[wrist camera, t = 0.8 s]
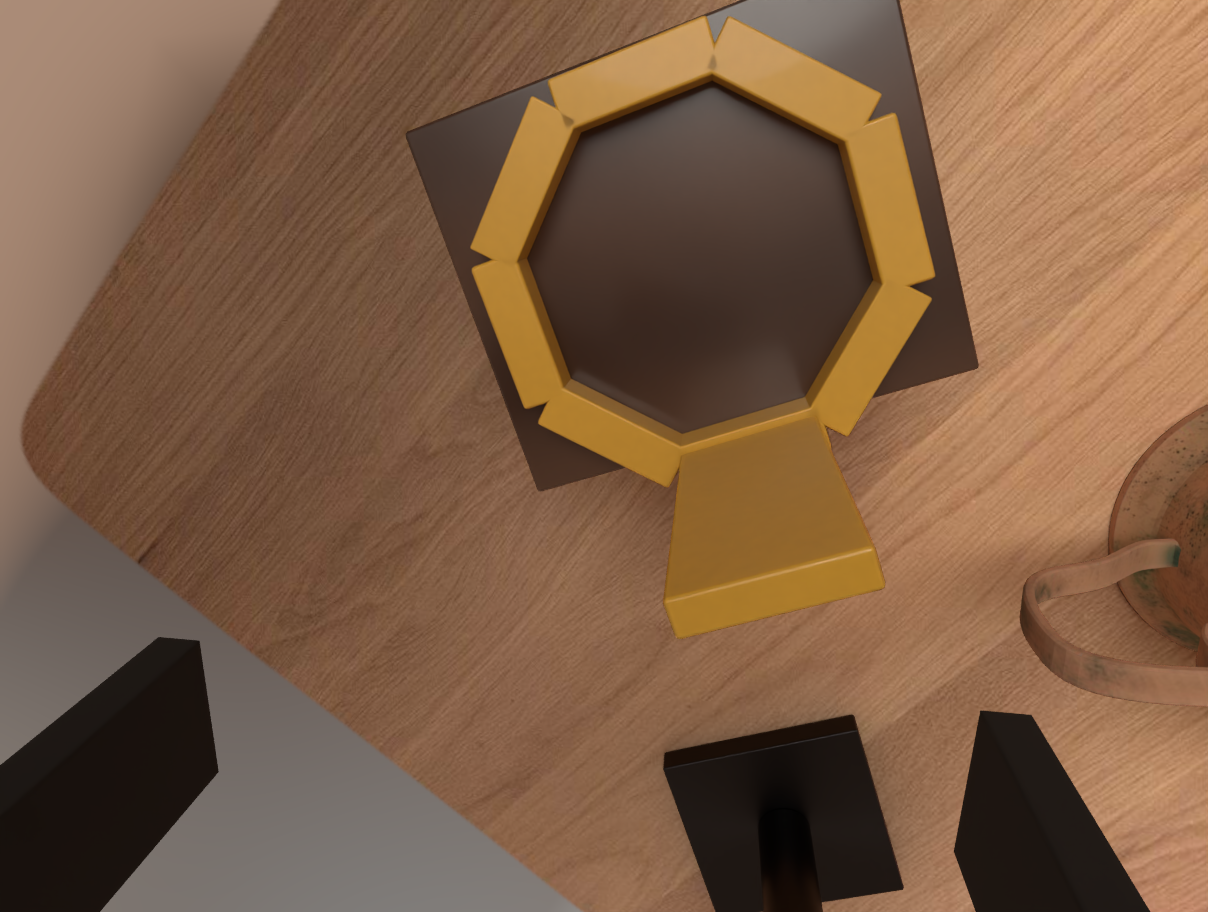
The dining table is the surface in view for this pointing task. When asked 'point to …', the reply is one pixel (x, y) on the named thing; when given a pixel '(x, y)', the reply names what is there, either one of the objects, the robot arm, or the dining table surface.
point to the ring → (750, 442)
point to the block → (703, 238)
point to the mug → (1143, 575)
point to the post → (784, 818)
